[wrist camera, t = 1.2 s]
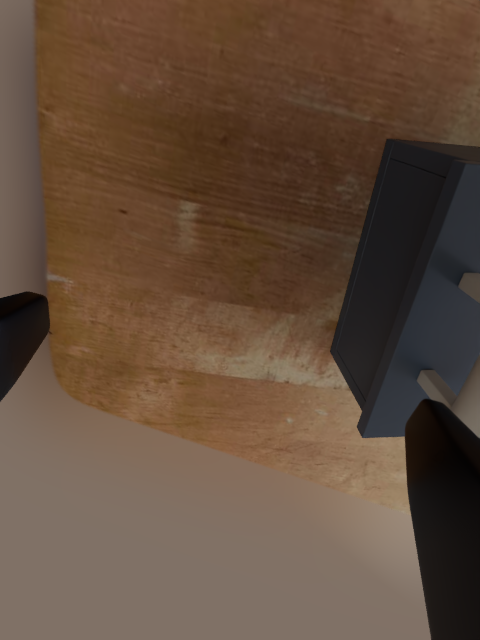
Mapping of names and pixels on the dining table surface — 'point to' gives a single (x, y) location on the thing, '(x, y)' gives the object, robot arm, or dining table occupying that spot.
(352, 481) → the dining table surface
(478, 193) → the lid
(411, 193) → the box
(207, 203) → the dining table surface
